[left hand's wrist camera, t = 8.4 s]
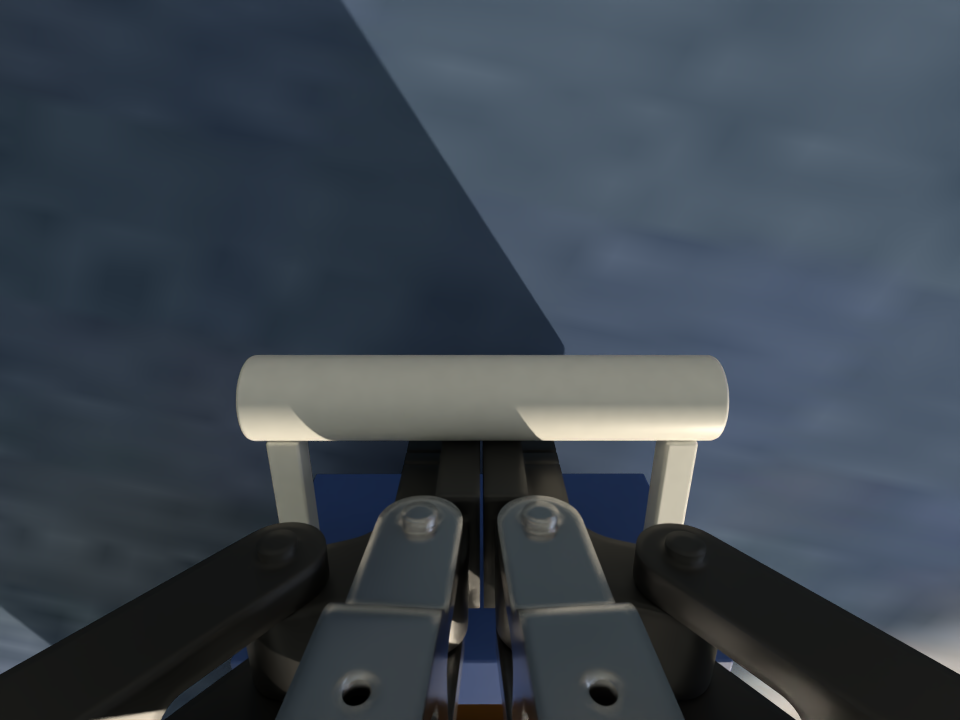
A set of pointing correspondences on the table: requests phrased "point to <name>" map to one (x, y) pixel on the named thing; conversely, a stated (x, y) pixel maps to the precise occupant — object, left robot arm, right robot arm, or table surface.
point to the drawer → (481, 417)
